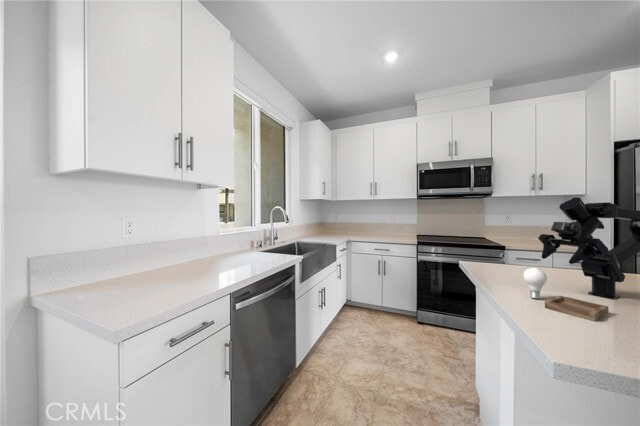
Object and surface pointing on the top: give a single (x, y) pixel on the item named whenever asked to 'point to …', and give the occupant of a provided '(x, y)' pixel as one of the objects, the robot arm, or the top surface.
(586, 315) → the walnut tray
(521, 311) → the top surface
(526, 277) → the lightbulb
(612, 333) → the top surface
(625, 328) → the top surface
